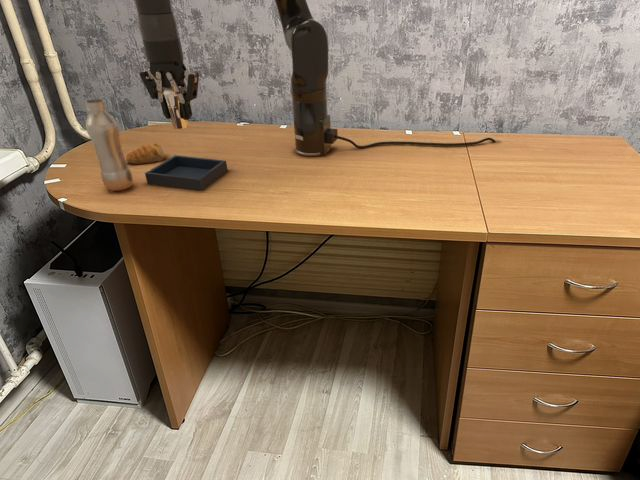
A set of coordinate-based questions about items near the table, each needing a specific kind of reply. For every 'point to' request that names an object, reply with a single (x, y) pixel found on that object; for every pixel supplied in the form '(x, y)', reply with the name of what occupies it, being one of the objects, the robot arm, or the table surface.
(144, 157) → the pastry
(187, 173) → the tray
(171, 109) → the milkshake
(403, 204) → the table surface
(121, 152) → the plastic bottle
